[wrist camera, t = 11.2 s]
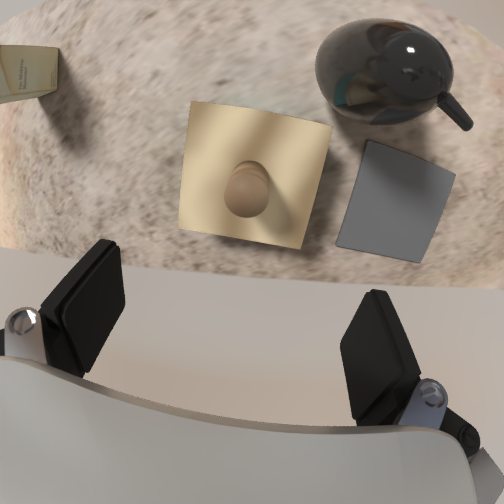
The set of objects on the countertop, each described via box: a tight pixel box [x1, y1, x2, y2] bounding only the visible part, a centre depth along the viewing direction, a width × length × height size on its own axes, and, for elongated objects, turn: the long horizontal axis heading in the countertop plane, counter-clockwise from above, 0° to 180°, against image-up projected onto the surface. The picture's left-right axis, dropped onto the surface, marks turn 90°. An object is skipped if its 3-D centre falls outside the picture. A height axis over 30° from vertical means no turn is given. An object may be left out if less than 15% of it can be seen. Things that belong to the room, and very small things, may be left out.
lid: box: [178, 101, 333, 249], centre depth 23 cm, size 12×12×6 cm
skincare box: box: [0, 45, 58, 104], centre depth 18 cm, size 6×4×12 cm
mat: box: [335, 140, 456, 263], centre depth 30 cm, size 13×13×1 cm
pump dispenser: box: [315, 18, 473, 131], centre depth 17 cm, size 10×10×15 cm
